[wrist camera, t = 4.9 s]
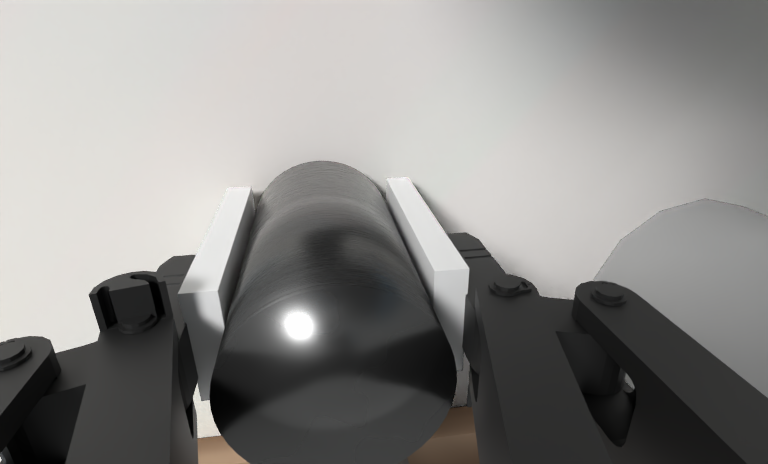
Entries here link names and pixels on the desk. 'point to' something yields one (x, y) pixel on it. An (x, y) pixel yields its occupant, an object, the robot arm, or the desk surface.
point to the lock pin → (329, 331)
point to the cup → (704, 279)
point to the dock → (433, 460)
